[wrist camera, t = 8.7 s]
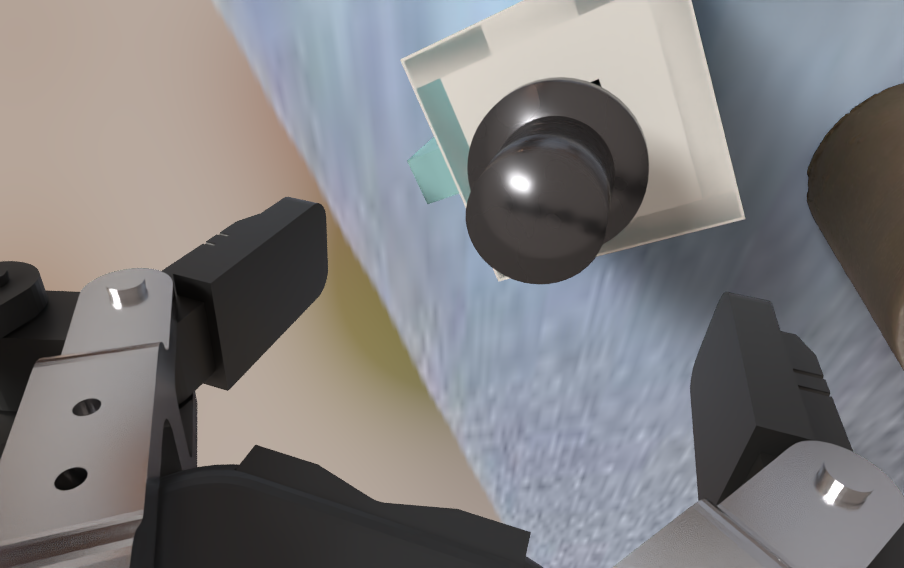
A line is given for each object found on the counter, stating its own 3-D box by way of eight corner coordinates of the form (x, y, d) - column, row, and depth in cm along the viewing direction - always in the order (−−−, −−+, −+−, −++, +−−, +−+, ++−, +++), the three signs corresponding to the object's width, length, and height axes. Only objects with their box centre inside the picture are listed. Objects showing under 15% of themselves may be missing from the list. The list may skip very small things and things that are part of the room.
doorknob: (674, 112, 28) (696, 299, 14) (558, 152, 31) (472, 345, 16) (639, -13, 26) (621, 49, 11) (518, 41, 29) (376, 148, 14)
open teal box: (711, 114, 31) (745, 219, 19) (516, 179, 36) (451, 293, 24) (665, -68, 28) (673, -72, 16) (457, 32, 33) (350, 83, 21)
